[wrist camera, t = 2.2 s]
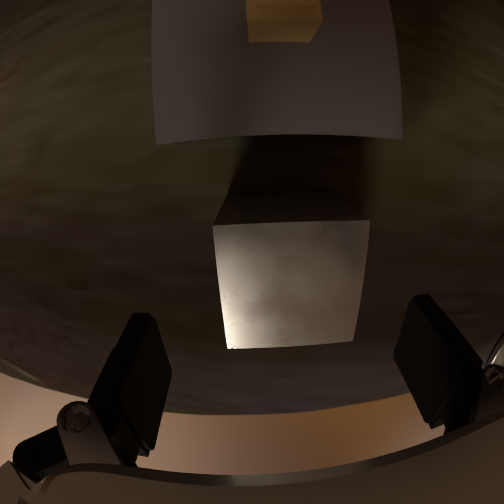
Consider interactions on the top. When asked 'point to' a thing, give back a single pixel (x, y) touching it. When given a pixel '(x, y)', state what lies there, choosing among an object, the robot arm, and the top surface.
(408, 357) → the robot arm
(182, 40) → the grey block
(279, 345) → the grey cube
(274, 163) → the top surface
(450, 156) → the top surface
